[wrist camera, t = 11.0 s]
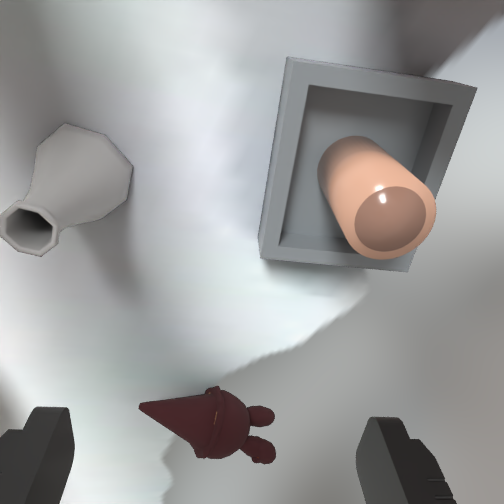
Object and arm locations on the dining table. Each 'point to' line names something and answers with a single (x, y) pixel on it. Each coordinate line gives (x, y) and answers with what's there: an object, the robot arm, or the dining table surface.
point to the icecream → (215, 424)
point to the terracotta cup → (375, 198)
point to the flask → (66, 189)
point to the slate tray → (343, 125)
